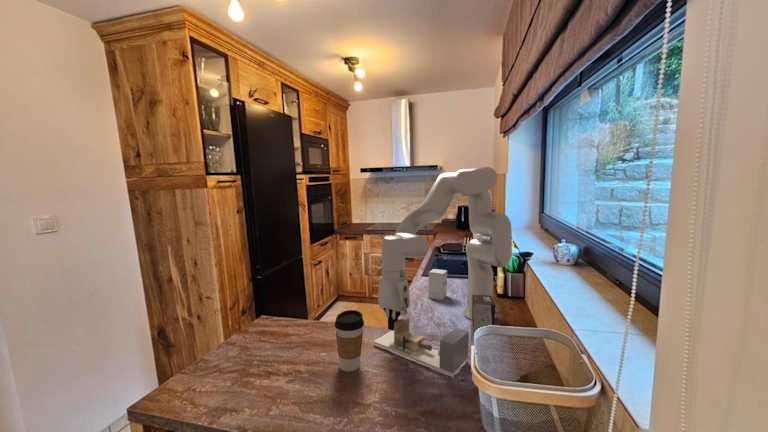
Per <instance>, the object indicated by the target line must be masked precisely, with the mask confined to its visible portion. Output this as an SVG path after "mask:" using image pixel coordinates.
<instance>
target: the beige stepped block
mask: <svg viewBox="0 0 768 432" xmlns="http://www.w3.org/2000/svg"><path fill="white" fill-rule="evenodd" d="M393 331H394V345H396V346H402V347H403V350H405V348H407V349H410V350H412V351H415V352H416V351H417V350H419V349H420V348H424V349H426V350H429V351H431V350H432V345H433V344H432V345H429V344H430V343H429V344H426V343H427V342H426V343H424V342H425V341H424V338H425V337H424V336H423V335H420V334H417V333H414V332H411V331H410V317H408V316H403V317H402V318H400V319H398V321H396V322H394V330H393Z"/></svg>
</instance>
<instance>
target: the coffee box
mask: <svg viewBox="0 0 768 432" xmlns="http://www.w3.org/2000/svg"><path fill="white" fill-rule="evenodd" d="M495 314H496V303H495V301H494V299H493V298H492V297H491V295H472V308H471V319H470V324H471V325H470V342H471V341H472V343H473V336H474V332H475V331H476V330H477V329H478V328H480V327H483V326H488V325H495V322H496V319H495ZM495 326H496V325H495Z"/></svg>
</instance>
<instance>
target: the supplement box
mask: <svg viewBox="0 0 768 432" xmlns="http://www.w3.org/2000/svg"><path fill="white" fill-rule="evenodd" d="M427 281H428V284H427V285H428V287H427V288H428V290H427V292H428V293H427V298H428V299H433V300H437V301H438V300H439V301H443V300H444V299H445V298H446V297H447V290H448V289H447V288H448V287H447V286H448V269H447V270H446V269H439V268H432V269H431V270H430V271H429V272H428V280H427Z"/></svg>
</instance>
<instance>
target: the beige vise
mask: <svg viewBox="0 0 768 432" xmlns="http://www.w3.org/2000/svg"><path fill="white" fill-rule="evenodd" d="M469 333H470V331H469V330H465V329H462V328H459V327H455V328H453V329H452V330H450V332H448V333H447V334H446V335H444V336H443V337H442V338H441V339H440V340H439V347H440V348H439V350H434V349H432V350H431V351H429V350H426V349H424V348H420V349H419V350H417V351H416V352H415V351H412V350H410V349H407V348H405V350H403V347H402V346H396V345H394V330H393V331H391V330H389V331H388V332H387V333H385V334H384V335H382V336H380V337H378V338H377V339H374V340H373V344H374V343H375V344H377V345H380V346H382V347H385V348H387V349H390V350H392V351H394V352H397V353H399V354H402V355H404V356H406V357H409V358H411V359H414V360H416V361H418V362H420V363H423V364H425V365H428V366H430V367H432V368H435V369H437V370H439V371H441V372H443V373H446V374H448V375H450V376H454V374H455V373H456V372H457V371H458V370H459V368H460V367H461V365H462V364H463V363H464V362H465V361H466V359H467V358H468V359H469Z"/></svg>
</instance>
